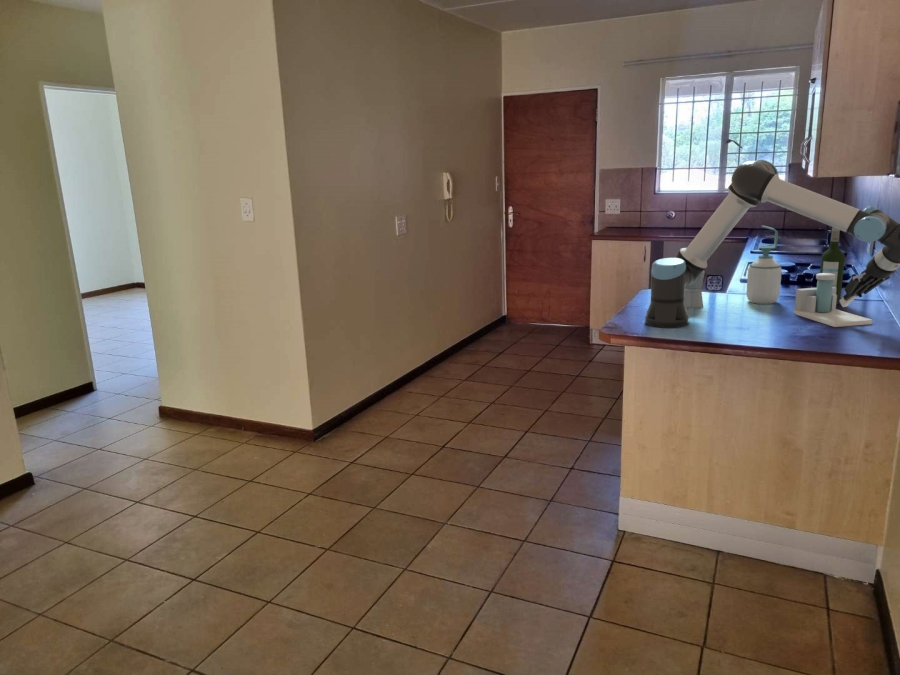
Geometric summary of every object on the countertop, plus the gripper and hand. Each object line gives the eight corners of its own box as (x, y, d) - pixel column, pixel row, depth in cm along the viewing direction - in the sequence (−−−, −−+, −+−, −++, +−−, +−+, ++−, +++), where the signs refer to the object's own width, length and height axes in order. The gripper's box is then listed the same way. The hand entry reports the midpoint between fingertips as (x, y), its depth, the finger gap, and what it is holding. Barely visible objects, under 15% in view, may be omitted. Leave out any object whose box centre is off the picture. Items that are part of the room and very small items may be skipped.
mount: (871, 323, 225) (875, 297, 223) (834, 327, 223) (837, 300, 221) (828, 311, 246) (830, 286, 244) (793, 313, 245) (796, 288, 242)
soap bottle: (744, 298, 274) (749, 224, 266) (776, 299, 270) (782, 223, 262) (747, 305, 263) (752, 227, 255) (781, 305, 259) (787, 226, 251)
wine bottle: (838, 301, 261) (846, 226, 253) (841, 305, 254) (849, 228, 246) (816, 300, 264) (823, 226, 256) (817, 304, 257) (825, 228, 250)
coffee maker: (693, 310, 258) (695, 265, 253) (673, 307, 264) (675, 263, 260) (713, 304, 267) (715, 260, 262) (693, 301, 273) (695, 259, 269)
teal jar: (835, 312, 237) (839, 275, 233) (820, 313, 236) (823, 276, 233) (824, 308, 242) (827, 272, 239) (809, 309, 242) (812, 273, 238)
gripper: (872, 273, 206) (830, 314, 226) (909, 270, 208) (864, 311, 228) (861, 254, 210) (821, 296, 230) (897, 252, 211) (854, 293, 232)
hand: (842, 303), depth 229 cm, fingers closed
